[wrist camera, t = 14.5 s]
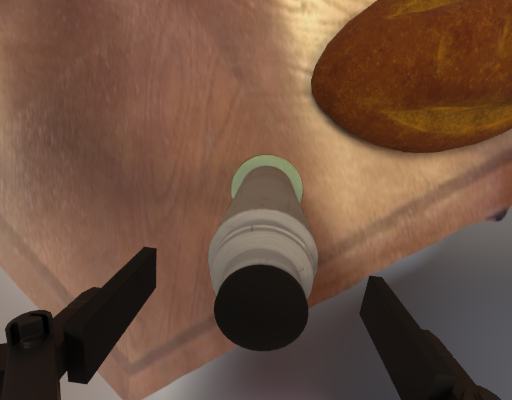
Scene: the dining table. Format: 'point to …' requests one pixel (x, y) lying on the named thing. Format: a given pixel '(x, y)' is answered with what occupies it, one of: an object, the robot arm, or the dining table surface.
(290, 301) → the thermos bottle
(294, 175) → the trivet
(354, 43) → the bread
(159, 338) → the dining table surface
